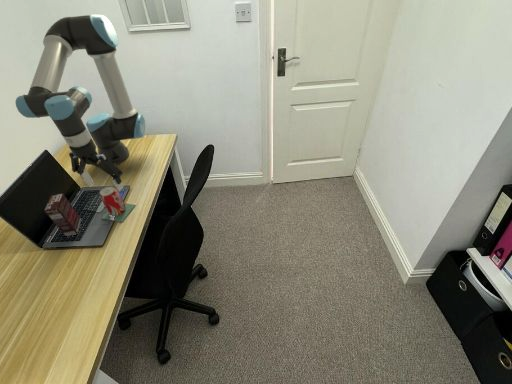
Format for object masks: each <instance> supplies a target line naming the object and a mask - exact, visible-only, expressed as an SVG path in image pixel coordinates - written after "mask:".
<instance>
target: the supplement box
mask: <svg viewBox="0 0 512 384" xmlns="http://www.w3.org/2000/svg"><path fill="white" fill-rule="evenodd" d="M43 211H44V213H45V214H46V215H47V216H48V218H49V219H50V221H52V222H53V223H54V225H56V227H57V228H58V229H59V230H60V232H61V233H62V234H63V235H64V237H65V236H70V235H76V234H78V231H79V228H80V229H81V227H80V223H81V220H83V219H82V217H81V216H80V215H79V214H78V212H77V211H76V209H75V208H74V206H73V205H72V204H71V202H70V201H69V200H68V198H67V197H66V196H65V194H64V193H57V194H52V195H50V197H49V199H48V201H47V203H46V204H45V208H44V209H43ZM79 232H80V231H79ZM78 235H79V234H78Z"/></svg>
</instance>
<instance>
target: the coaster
mask: <svg viewBox="0 0 512 384" xmlns="http://www.w3.org/2000/svg"><path fill="white" fill-rule="evenodd" d="M124 203H125V206H126V210H125V211H124V212H123V213H122V214H120V215H117V216H115V217H114V221H113V222H115V223H116V222H118V223H124V221H126V219H127V218H128V217H129V215H130V214H131V212H133V210H134V209H135V208H136V204H133V203H126V202H124ZM109 215H111V214H110V213H109V212H108V211H107V210H106V213H105V212H104V214H103V216H102V217H101V219H102V220H104V219H109V220H108V221H110V218H111V217H110V216H109Z"/></svg>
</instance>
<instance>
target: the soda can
mask: <svg viewBox="0 0 512 384" xmlns="http://www.w3.org/2000/svg"><path fill="white" fill-rule="evenodd" d="M99 195H100V198H101V200H102V202H103V204H104V206H105V209H106V212H107V211H108V212H109V213H110V214H111V215H112V216H117V215H120V214H122V213H123V212H124V211H125V210H126V206H125V203H126V202H124V199H123V198H122V196H121V194H120V191H118V190H117V188H116V187H115V186H114V185H106V186H105V187H103V188H102V189H100V190H99Z"/></svg>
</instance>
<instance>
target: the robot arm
mask: <svg viewBox="0 0 512 384" xmlns="http://www.w3.org/2000/svg"><path fill="white" fill-rule="evenodd" d="M118 38H119V37H118V34H117V31H116V29H115V27H114V26H113V24H112V22H111V21H110V20H109V19H108V18H107V17H106V16H105V15H102V14H87V15H80V16H79V15H77V16H66V17H65V16H64V17H61V18H60V19H57V21H55V22H54V23H53V24H52V25H51V26H50V27H49V28H48V30H47V31H46V33H45V35H44V37H43V40H42V43H43V44H42V45H43V46H44V48H43V50H42V53H41V57H40V59H39V62H38V64H37V68H36V70H35V73H34V76H33V78H32V81H31V84H30V87H29V90H28V93H27V94H22V95H18V96H17V97H16V98H15V99H16V100H15V107H16V109H17V111H18V112H19V114H20V115H22V116H23V117H25V118H29V119H30V118H32V119H33V118H37V119H38V118H39V119H40V118H46V117H49V118H50V119H51V120H52V122H53V124H55V126H56V128H57V130H58V131H59V132H60V135H61V136H62V137H63V139H64V141H65V143H66V144H67V145H68V147H69V149H70V152H69V153H68V156H69V157H70V161H71V164H70V165H71V171H72V173H77V174H78V175H79V176H80V177H81V179H82V180H83V181H84V183H85V184H86V186H87V188H91V187H92V186H93V185H94V184H95V182H94V180H93V179H92V177H91V175H90V173H89V172H88V170H86V166H87V165H89V166H90V165H91V166H95V167H96V168H99V169H100V170H101V171H103V172H104V173H106V174H107V175H108V176H109V177H111V181H112V183H113V186H114V187H115V189H117V190H118V192H121V191H122V190H123V188H124V185H123V182H122V179H121V176H122V175H123V172H122V170H121V169H119V167H118V166H117V164H120V163H122V162H124V161H125V160H126V159H128V158H129V156H130V150H129V148H128V147H127V146H126V145H125V144H124V143H123V142H122V141H125V140H127V141H128V140H136V139H142V138H144V137H145V135H146V121H145V117H144V115H143V114H141V113H138V109H137V108H134V107H133V105H132V102H131V99H130V96H129V93H128V91H127V90H128V89H127V88H126V85H125V82H124V79H123V76H122V73H121V70H120V67H119V65H118V62H117V59H116V56H115V55H116V52H117V48H116V47H118V45H119V39H118ZM79 50H85V51H86V53H87V55H88V56H89V57H91V58H92V59H93V61H94V64H95V66H96V70H97V71H98V74H99V77H100V79H101V81H102V84H103V86H104V89H105V92H106V94H107V97H108V99H109V102H110V105H111V107H112V110H113V112H112V115H110V114H109V113H107V112H102V113H98V114H95V115H93V116H92V117H90V118H89V119H87V121H86V123H85V124H84V122H83V120H82V117H83V116H84V114H85V113H86V112H87V111H88V109H90V107H91V104H92V101H93V97H92V94H91V93H90V91H89V90H87V88H85V87H82V86H78V85H77V86H76V85H74V86H73V87H70V88H69V89H68V90H66V91H59V87H60V85H61V80H62V78H63V74H64V70H65V67H66V65H67V64H66V63H67V61H68V58H70V57H71V56H72V55H73V52H75V51H79Z"/></svg>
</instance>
